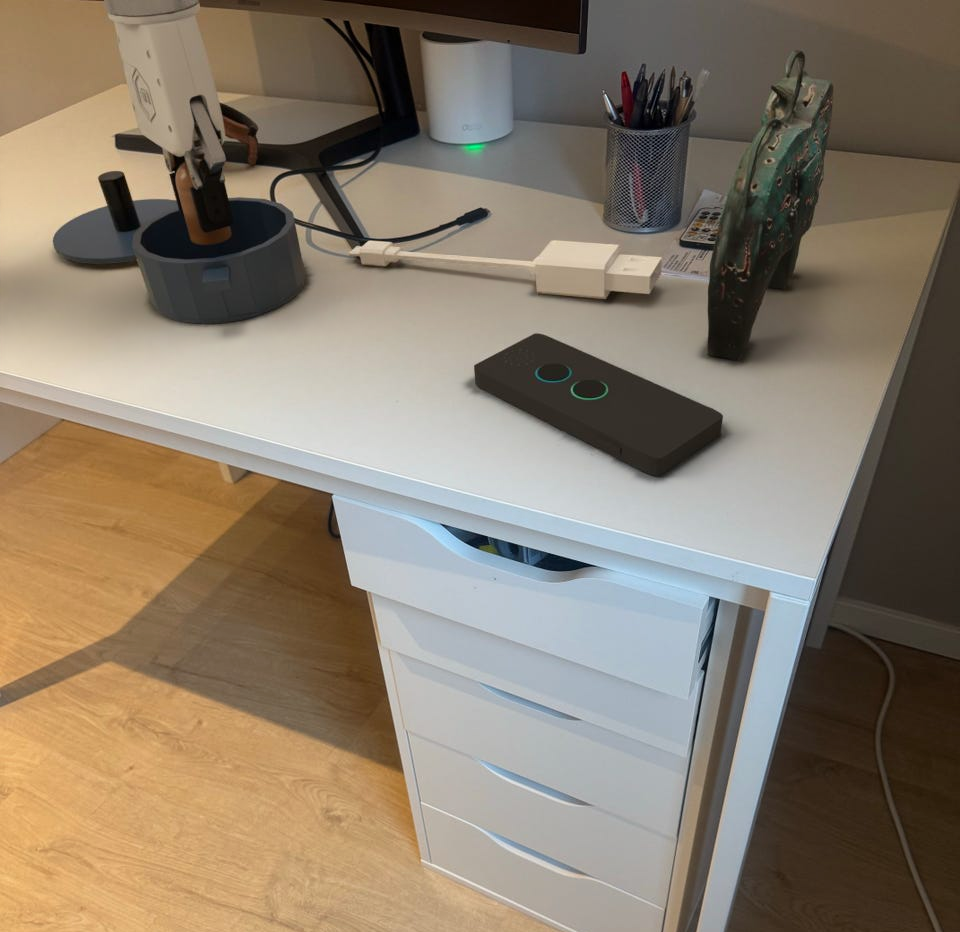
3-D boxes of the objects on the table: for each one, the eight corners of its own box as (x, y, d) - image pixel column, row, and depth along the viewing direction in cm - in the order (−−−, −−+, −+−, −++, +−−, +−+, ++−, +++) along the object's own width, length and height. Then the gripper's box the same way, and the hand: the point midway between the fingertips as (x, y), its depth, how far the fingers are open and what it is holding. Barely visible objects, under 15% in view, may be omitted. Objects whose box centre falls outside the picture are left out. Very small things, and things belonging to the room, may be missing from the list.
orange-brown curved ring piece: (197, 156, 122) (214, 93, 118) (258, 192, 123) (278, 131, 119) (151, 162, 112) (167, 93, 108) (218, 202, 113) (238, 135, 109)
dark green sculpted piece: (750, 262, 89) (788, 22, 75) (817, 272, 87) (869, 27, 72) (684, 356, 77) (715, 93, 63) (759, 371, 75) (809, 101, 61)
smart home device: (538, 329, 79) (728, 412, 68) (538, 347, 80) (725, 432, 69) (468, 365, 75) (657, 459, 64) (470, 384, 76) (655, 479, 65)
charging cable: (367, 257, 97) (361, 225, 95) (661, 281, 86) (663, 246, 84) (344, 277, 94) (338, 244, 92) (647, 304, 83) (648, 269, 81)
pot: (146, 347, 84) (124, 285, 80) (157, 256, 99) (139, 200, 94) (312, 322, 86) (300, 260, 82) (299, 236, 100) (287, 180, 96)
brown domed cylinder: (190, 247, 87) (169, 170, 82) (191, 231, 90) (170, 155, 85) (232, 242, 87) (213, 165, 82) (231, 226, 90) (213, 150, 85)
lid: (47, 278, 96) (20, 214, 92) (65, 220, 108) (42, 160, 103) (204, 256, 98) (185, 192, 93) (205, 201, 109) (189, 141, 105)
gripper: (71, -15, 78) (138, 206, 91) (145, 17, 68) (208, 259, 81) (153, -29, 81) (206, 187, 94) (235, 0, 71) (282, 236, 84)
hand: (206, 218), depth 87 cm, fingers closed on brown domed cylinder, 4 cm apart
